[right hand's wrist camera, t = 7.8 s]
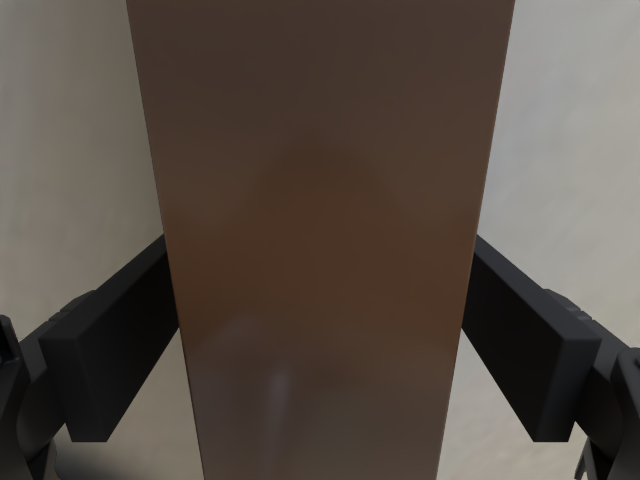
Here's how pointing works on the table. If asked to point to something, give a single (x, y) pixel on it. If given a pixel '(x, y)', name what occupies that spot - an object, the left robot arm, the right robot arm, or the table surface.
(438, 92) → the walnut plank
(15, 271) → the table surface
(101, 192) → the table surface
